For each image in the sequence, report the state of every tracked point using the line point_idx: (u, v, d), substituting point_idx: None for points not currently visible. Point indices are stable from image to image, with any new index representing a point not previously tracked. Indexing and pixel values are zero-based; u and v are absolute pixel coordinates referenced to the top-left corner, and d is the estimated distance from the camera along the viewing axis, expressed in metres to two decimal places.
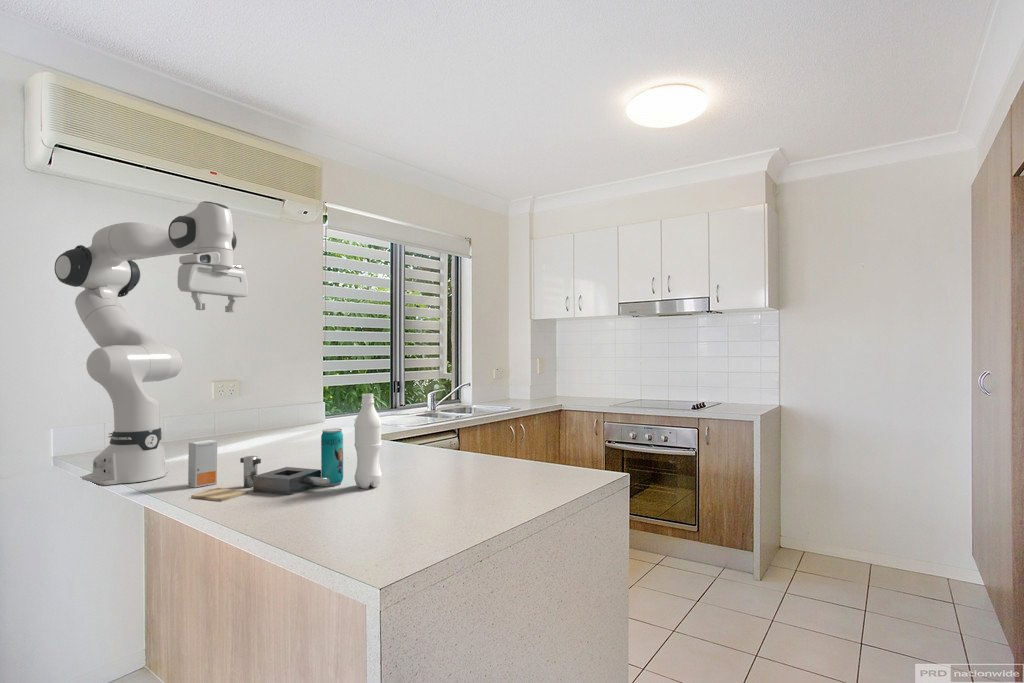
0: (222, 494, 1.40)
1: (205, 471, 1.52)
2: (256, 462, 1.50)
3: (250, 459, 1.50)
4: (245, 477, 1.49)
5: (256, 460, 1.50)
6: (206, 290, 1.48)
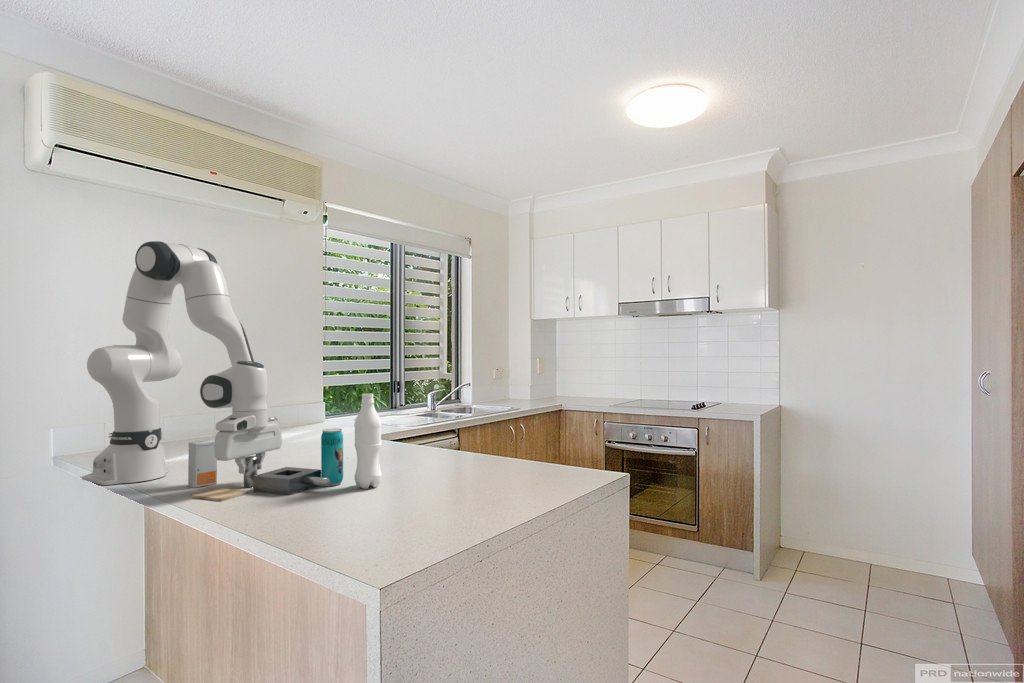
0: (222, 494, 1.40)
1: (205, 471, 1.52)
2: (256, 462, 1.50)
3: (250, 459, 1.50)
4: (245, 477, 1.49)
5: (256, 460, 1.50)
6: (242, 455, 1.46)
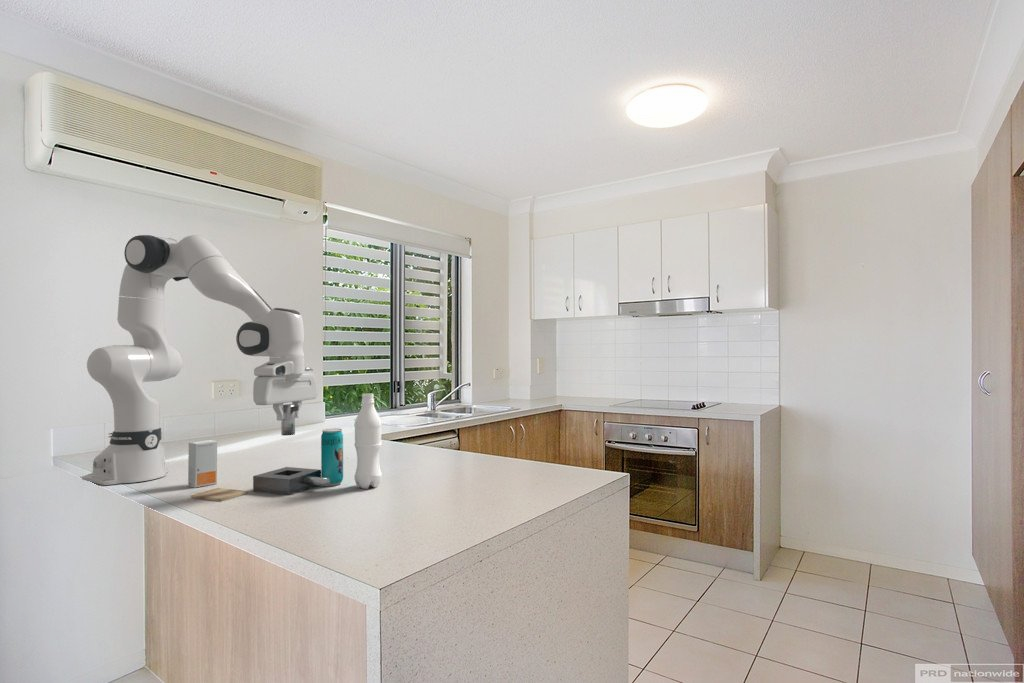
0: (222, 494, 1.40)
1: (205, 471, 1.52)
2: (294, 409, 1.48)
3: (288, 406, 1.48)
4: (283, 424, 1.48)
5: (294, 407, 1.48)
6: (280, 401, 1.45)
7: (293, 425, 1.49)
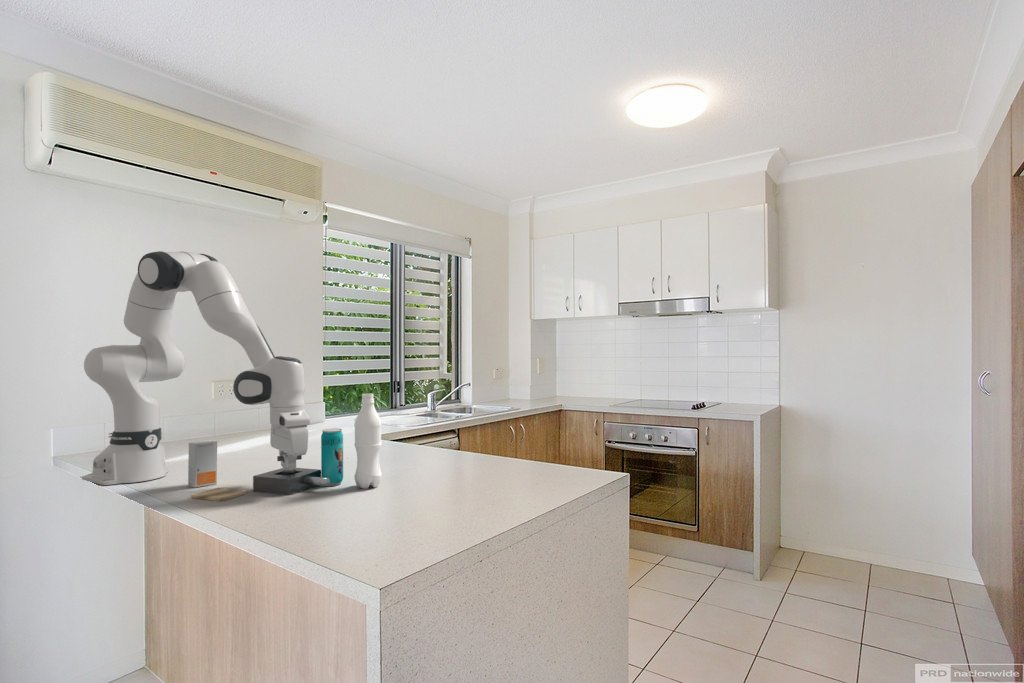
0: (222, 494, 1.40)
1: (205, 471, 1.52)
2: (300, 458, 1.50)
3: None
4: (289, 474, 1.48)
5: (300, 456, 1.50)
6: None
7: None
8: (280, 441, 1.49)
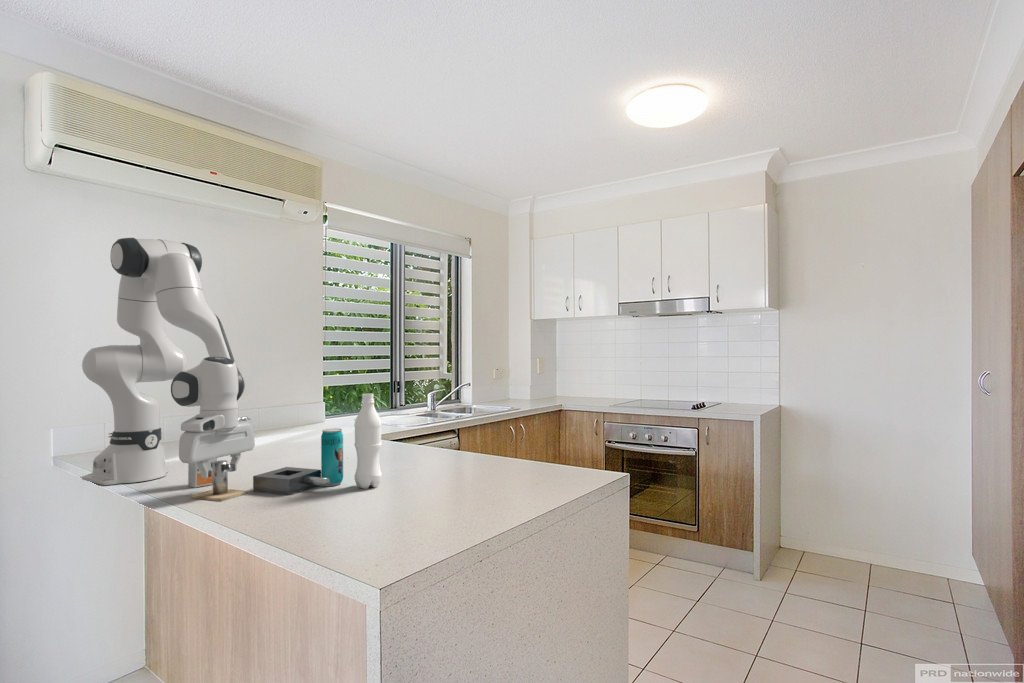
0: (222, 494, 1.40)
1: None
2: (223, 468, 1.40)
3: (218, 464, 1.40)
4: (213, 483, 1.40)
5: (223, 466, 1.40)
6: (210, 457, 1.37)
7: (224, 484, 1.41)
8: None
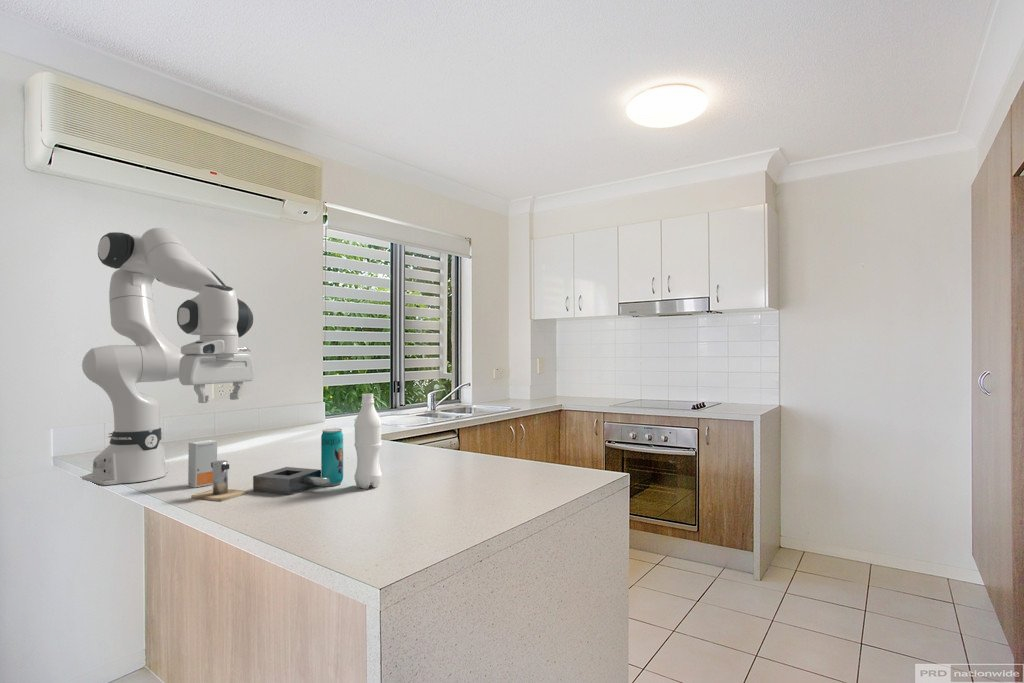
0: (222, 494, 1.40)
1: (205, 471, 1.52)
2: (224, 468, 1.40)
3: (218, 464, 1.40)
4: (213, 483, 1.40)
5: (224, 466, 1.40)
6: (210, 381, 1.37)
7: (224, 484, 1.41)
8: None
